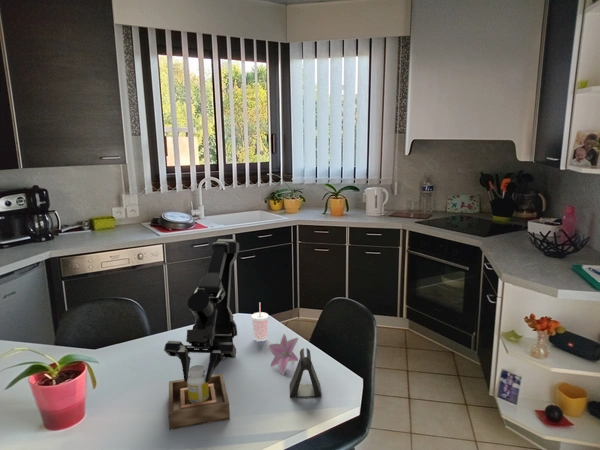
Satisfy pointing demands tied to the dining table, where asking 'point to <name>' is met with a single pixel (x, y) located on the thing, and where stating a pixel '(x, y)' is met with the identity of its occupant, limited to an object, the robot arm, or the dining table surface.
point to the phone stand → (295, 386)
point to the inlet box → (197, 404)
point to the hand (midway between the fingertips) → (195, 381)
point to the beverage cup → (260, 325)
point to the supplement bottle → (197, 385)
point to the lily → (283, 353)
